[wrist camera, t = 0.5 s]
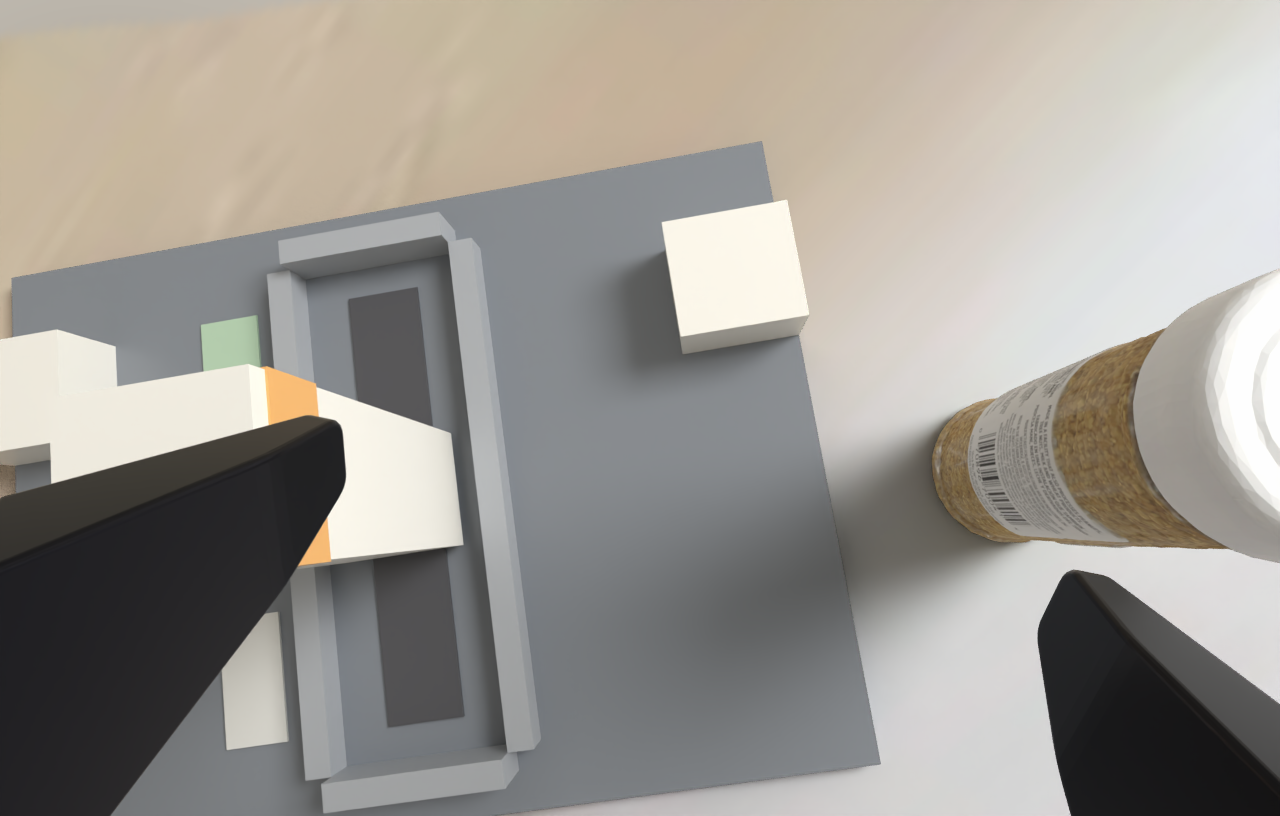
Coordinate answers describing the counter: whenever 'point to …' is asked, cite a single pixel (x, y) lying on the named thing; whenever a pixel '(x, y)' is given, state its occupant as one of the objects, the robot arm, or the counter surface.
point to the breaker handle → (256, 397)
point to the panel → (509, 497)
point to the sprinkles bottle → (1135, 440)
